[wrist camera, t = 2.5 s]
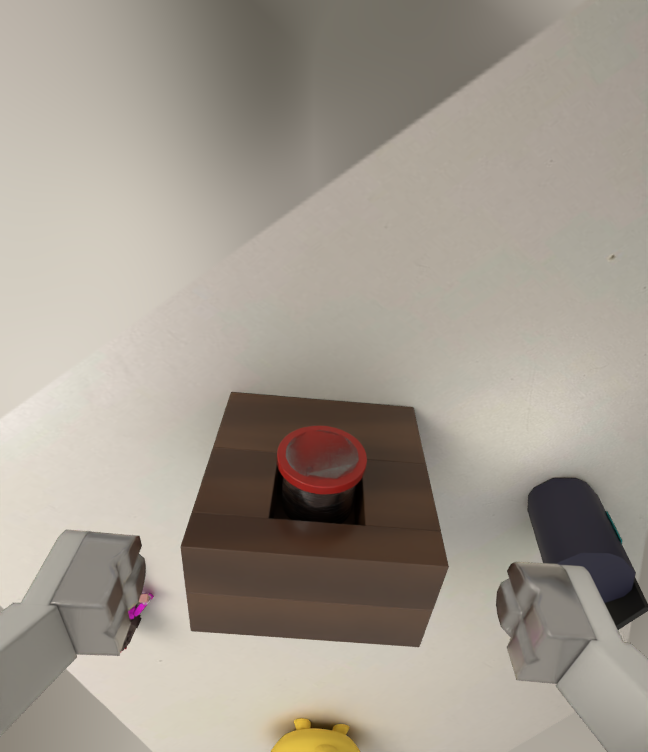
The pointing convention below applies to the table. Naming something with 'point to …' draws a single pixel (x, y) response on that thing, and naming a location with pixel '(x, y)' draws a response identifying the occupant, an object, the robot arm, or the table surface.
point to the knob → (320, 473)
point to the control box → (314, 532)
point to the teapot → (316, 739)
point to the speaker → (585, 543)
